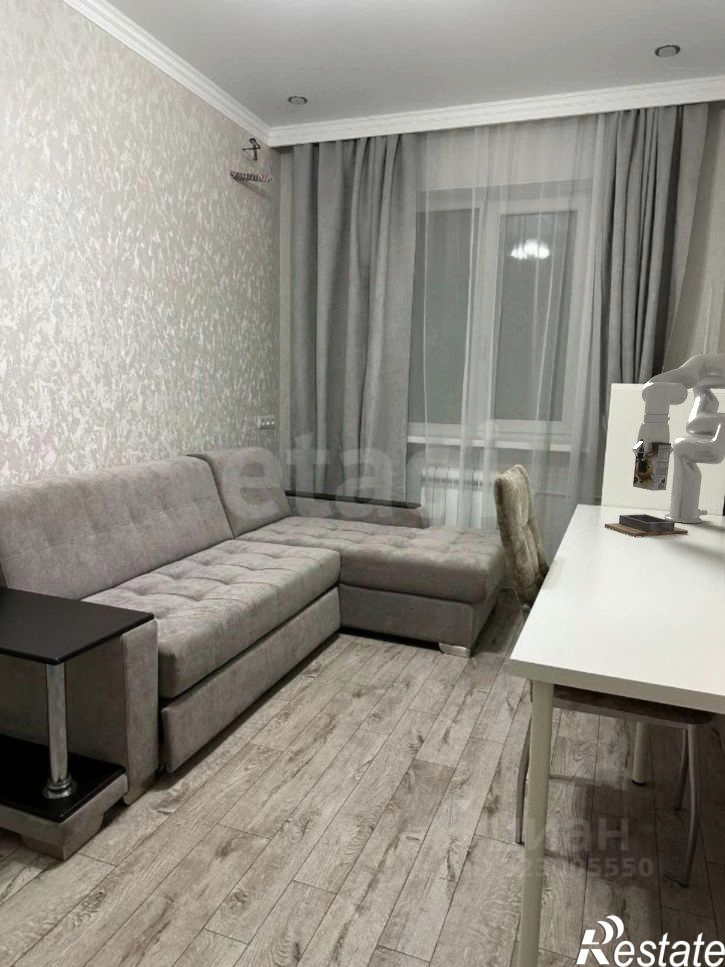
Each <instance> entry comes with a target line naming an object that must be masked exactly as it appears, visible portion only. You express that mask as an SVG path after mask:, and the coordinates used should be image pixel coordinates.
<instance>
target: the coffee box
mask: <svg viewBox="0 0 725 967" xmlns="http://www.w3.org/2000/svg"><path fill="white" fill-rule="evenodd" d="M671 447H672V443H671V442H669V443H663V442H652V445H651V450H650V453H648V456H647V458H646V460H645V461H647V466H646V473H642V472H638V463H639V460H637V457H636V456H635V460H634V462H635V463H634V471H633V481H632V487H633V488H638V489H643V490H648V491H654V492H655V491H666V490H667V483H668V474H669V465H670V457H671V454H670V449H671ZM642 448H643V446H642V447H641V449H642ZM639 451H641V450H640V449H639ZM643 451H644V448H643ZM643 455H644V454H643Z"/></svg>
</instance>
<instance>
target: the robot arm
mask: <svg viewBox="0 0 725 967" xmlns="http://www.w3.org/2000/svg"><path fill="white" fill-rule="evenodd" d="M690 389H692V392H693V398H694V401H693V405H692V408H691V410H690V412H689V416H688V419H687V422H686V425H685V431H686V433H687V434H688V435H683V436H680V437H678V438H676V439H675V441H674V442H673V445H672V446H671V449H670V455H671V454H672V455H673V473H672V474H673V475H672V483H671V484H672V485H671V493H670V494H671V496H670V503H669V504H670V505H669V513H668V514H667V513H666V514H664V518H663V519H665V520H669V521H672V522H675V523H681V522H682V523H683V524H700V523H702V518H701V516H707V515H708V510H706V509H702V510H701V509H700V508H699V505H700V494H701V485H702V471H701V468H700V467H699V466H698V464H703V465H705V464H706V465H719V464H721V463H723V461H724V460H725V412H718V410H719V407H720V401H719V399H718V397H717V396H716V395H715V394H714V392H713V391H712V390H711V389H713V390H725V353H699V354H695V355H693V356H690V358H689V359H687V361H685V362H684V363H683V364H682V365H680V367H678V368H674V369H670V370H669V371H665V372H661V373H659V374H657V375H655V376H653V377H652V378H651V379H649V380H648V381H647V382H646V383H645V384H644V386H643V388H642V391H641V397H642V401H643V402H644V413H643V423H641V425H640V427H639V431H638V434H637V438H636V439H637V440H636V445H635V446H634V447H633V448H632V452H633V454H634V456H635V458H636V457H637V460H639V463H638V472H642V473H646V466H647V461H645V460H646V458H647V456H648V453H650V450H651V445H652V442H663V443H670V440H671V439H670V437H671V436H670V424H669V421H670V420H671V419H670V418H671V417H670V416H669V415H670V406H679V405H682V404H684V403H685V402H686V400H687V399H688V395H689V391H688V390H690ZM642 446H643V448H644V451H643V448H642V449H641V447H642ZM639 449H640V450H641V451H639ZM643 454H644V455H643Z"/></svg>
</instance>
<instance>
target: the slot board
mask: <svg viewBox="0 0 725 967" xmlns="http://www.w3.org/2000/svg"><path fill="white" fill-rule="evenodd" d="M618 516H619V518H618V523H617V522H615V523H614V522H613V523H604V528H605V527H607V528H606V529H609V528H610V529H609V530H612V529H613V530H612V531H615V530H616V531H615V532H618V531H619V532H618V533H621V532H622V533H621V534H624V533H625V535H627V534H628V536H630V535H631V537H633V536H634V537H633V538H637V537H636V536H641V537H656V536H675V535H676V534H679V535H688V534H689V530H687V529H684V528H680V527H677V526H675V524H676V522H674V521H670V520H667V519H665V518H661V517H657V516H653V515H649V514H646V513H644V514H643V513H642V514H638V513H637V514H620V515H618ZM687 533H688V534H687Z"/></svg>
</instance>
